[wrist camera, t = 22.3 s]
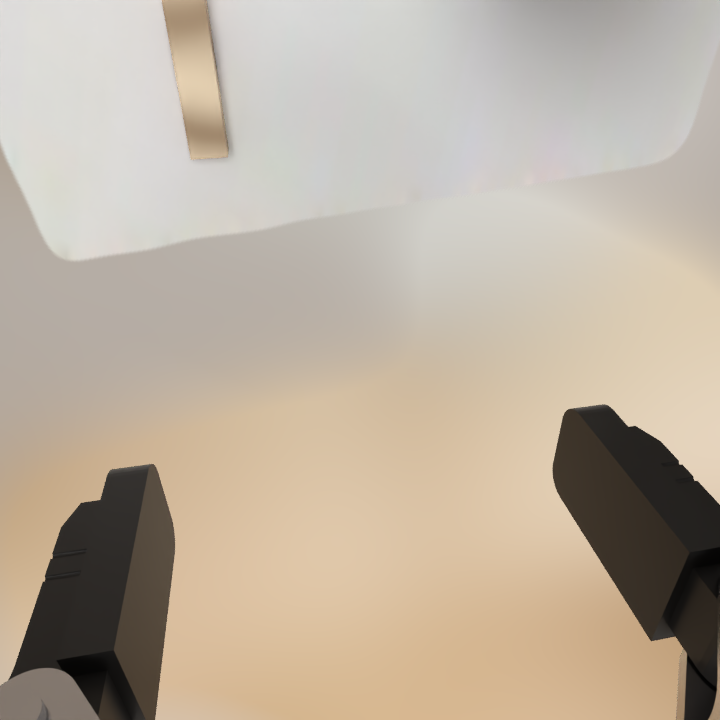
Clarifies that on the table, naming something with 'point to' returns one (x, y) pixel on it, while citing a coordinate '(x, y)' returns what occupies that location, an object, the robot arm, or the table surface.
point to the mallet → (196, 77)
